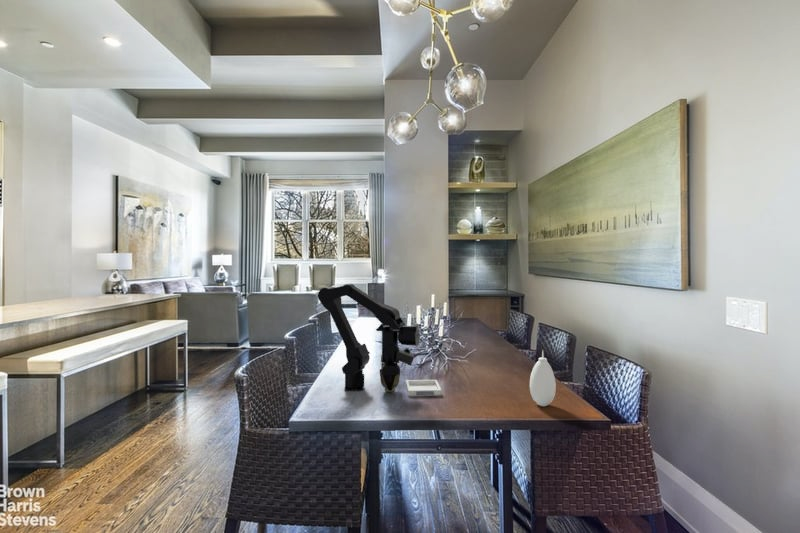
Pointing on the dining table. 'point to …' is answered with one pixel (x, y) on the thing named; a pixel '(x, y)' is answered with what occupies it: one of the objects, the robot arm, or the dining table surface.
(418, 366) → the dining table surface
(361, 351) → the robot arm
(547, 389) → the air blower bulb
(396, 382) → the brown hollow flared piece
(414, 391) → the white tray
